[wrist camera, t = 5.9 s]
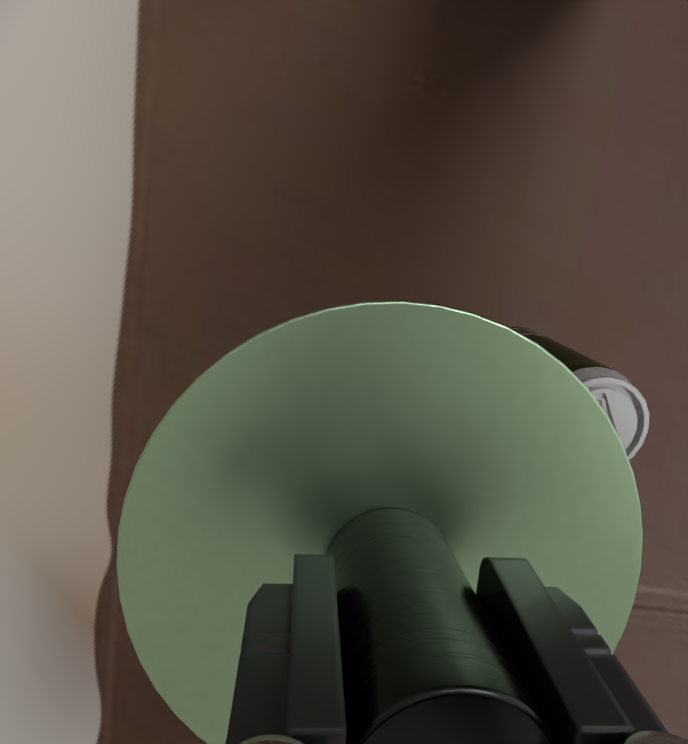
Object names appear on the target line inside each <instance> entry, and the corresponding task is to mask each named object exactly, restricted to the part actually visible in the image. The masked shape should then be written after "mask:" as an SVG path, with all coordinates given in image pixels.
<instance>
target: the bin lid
mask: <svg viewBox="0 0 688 744" xmlns="http://www.w3.org/2000/svg"><path fill="white" fill-rule="evenodd" d="M642 541H643V534H642V520H641V506H640V501H639V496H638V492H637V487H636V482H635V478H634V474H633V471H632V468H631V465H630V463H629V460H628V457H627V454H626V452H625V449H624V446H623V444H622V442H621V440H620V438H619V436H618V434H617V432H616V430H615V428H614V427H613V425H612V423H611V421H610V419H609V417H608V415H607V414H606V412H605V411H604V410H603V408H602V407H601V406H600V404H599V403H598V401H597V400H596V399H595V397H594V396H593V395H592V393H591V392H590V391H589V389H588V388H587V387H586V386H585V385H584V384H583V383H582V382H581V381H580V380H579V379H578V378H577V377H576V376H575V375H574V374H573V373H572V372H571V370H570V369H569V368H568V367H567V366H566V365H565V364H564V363H562V362H561V361H560V360H558V359H557V358H556V357H554V356H553V355H552V354H551V353H549V352H548V351H547V350H545V349H544V348H543V347H541V346H540V345H539V344H538V343H536V342H534V341H532V340H531V339H529V338H527V337H525V336H524V335H522V334H520V333H518V332H517V331H515V330H513V329H511V328H509V327H508V326H506V325H503V324H501V323H498V322H496V321H493V320H490V319H488V318H485V317H483V316H480V315H478V314H475V313H472V312H468V311H464V310H460V309H456V308H452V307H448V306H444V305H440V304H432V303H423V302H414V301H404V300H377V301H359V302H353V303H347V304H341V305H334V306H328V307H325V308H321V309H318V310H315V311H311V312H308V313H305V314H301V315H298V316H295V317H292V318H290V319H287V320H285V321H283V322H281V323H279V324H276V325H274V326H272V327H270V328H267V329H265V330H263V331H261V332H259V333H257V334H256V335H254V336H253V337H251V338H249V339H248V340H246V341H245V342H243V343H241V344H240V345H238V346H236V347H235V348H233V349H232V350H230V351H229V352H227V353H226V354H225V355H224V356H223V357H221V358H220V359H219V360H218V361H217V362H215V363H214V364H213V365H212V366H210V367H209V368H208V369H207V370H206V371H204V372H203V373H202V374H201V375H200V376H198V377H197V378H196V379H195V381H194V382H193V383H192V384H191V385H190V386H189V387H188V388H187V389H186V390H185V391H184V392H183V393H182V395H181V396H180V397H179V398H178V399H177V400H176V401H175V402H174V403H173V404H172V406H171V407H170V409H169V410H168V412H167V413H166V414H165V416H164V417H163V419H162V420H161V422H160V423H159V424H158V426H157V427H156V429H155V430H154V432H153V433H152V435H151V437H150V439H149V441H148V443H147V445H146V447H145V449H144V450H143V452H142V454H141V456H140V458H139V460H138V462H137V464H136V467H135V470H134V472H133V475H132V478H131V481H130V484H129V487H128V490H127V493H126V496H125V499H124V504H123V509H122V514H121V520H120V525H119V530H118V546H117V575H118V586H119V596H120V602H121V606H122V610H123V614H124V618H125V622H126V626H127V631H128V633H129V636H130V638H131V641H132V643H133V646H134V648H135V651H136V653H137V656H138V658H139V661H140V663H141V664H142V666H143V668H144V670H145V671H146V673H147V675H148V677H149V678H150V680H151V682H152V684H153V685H154V687H155V689H156V690H157V691H158V693H159V694H160V695H161V697H162V698H163V699H164V700H165V702H166V703H167V704H168V706H169V707H170V708H171V709H172V711H173V712H174V713H175V715H176V716H177V717H178V718H179V719H181V720H182V721H183V722H184V723H185V724H186V725H187V726H188V727H189V728H190V729H191V730H192V731H193V732H194V733H195V734H196V735H197V736H198V737H199V738H200V739H202V740H203V741H204V742H206V743H207V744H225V743H226V739H227V733H228V726H229V720H230V714H231V707H232V701H233V695H234V688H235V682H236V676H237V669H238V663H239V657H240V653H241V644H242V638H243V633H244V625H245V619H246V612H247V606H248V603H249V601H250V600H251V599H252V598H253V596H254V595H255V594H256V592H257V591H258V590H259V588H260V587H261V586H262V584H263V583H270V584H293V569H294V554H316V555H334V564H335V578H336V592H337V606H338V620H339V633H340V647H341V661H342V675H343V689H344V702H345V716H346V730H347V733H346V744H557V742H556V740H555V738H554V736H553V734H552V732H551V730H550V728H549V726H548V725H547V723H546V721H545V719H544V717H543V716H542V714H541V712H540V710H539V708H538V706H537V705H536V703H535V701H534V699H533V697H532V696H531V694H530V692H529V690H528V688H527V686H526V685H525V683H524V681H523V679H522V677H521V676H520V674H519V672H518V670H517V668H516V666H515V665H514V663H513V661H512V659H511V657H510V656H509V654H508V652H507V650H506V648H505V647H504V645H503V643H502V641H501V639H500V637H499V636H498V634H497V632H496V630H495V628H494V627H493V625H492V623H491V621H490V619H489V617H488V616H487V614H486V612H485V610H484V608H483V607H482V605H481V603H480V601H479V599H478V598H477V596H476V589H477V583H478V576H479V569H480V564H481V562H482V560H483V558H485V557H500V558H525V559H527V560H528V561H529V563H530V564H531V566H532V567H533V569H534V571H535V572H536V574H537V575H538V577H539V578H540V580H541V582H542V583H543V585H544V586H545V587H557V588H558V589H560V590H561V591H562V592H563V593H565V594H566V595H567V596H568V597H570V598H571V599H572V600H573V601H575V602H576V603H577V604H578V605H580V606H581V607H582V609H583V610H584V612H585V613H586V614H587V616H588V617H589V619H590V620H591V622H592V623H593V625H594V626H595V627H596V629H597V633H598V635H601V636H602V638H603V639H604V640H605V642H606V643H607V645H608V646H609V648H610V649H611V654H613V652H614V650H615V648H616V646H617V644H618V642H619V640H620V638H621V636H622V634H623V631H624V629H625V627H626V624H627V621H628V618H629V615H630V612H631V609H632V606H633V603H634V600H635V595H636V590H637V585H638V580H639V575H640V570H641V557H642Z"/></svg>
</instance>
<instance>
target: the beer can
mask: <svg viewBox="0 0 688 744" xmlns="http://www.w3.org/2000/svg"><path fill="white" fill-rule="evenodd" d="M509 328H511V329H513V330H515V331H517V332H518V333H520V334H522V335H524V336H525V337H527V338H529V339H531V340H532V341H534V342H536V343H538V344H539V345H540V346H541V347H543V348H544V349H545V350H547V351H548V352H549V353H551V354H552V355H553V356H554V357H556V358H557V359H558V360H560V361H561V362H562V363H564V364H565V365H566V366H567V367H568V368H569V369H570V370H571V372H572V373H573V374H574V375H575V376H576V377H577V378H578V379H579V380H580V381H581V382H582V383H583V384H584V385H585V386H586V387H587V388H588V389H589V391H590V392H591V393H592V395H593V396H594V397H595V399H596V400H597V401H598V403H599V404H600V406H601V407H602V408H603V410H604V411H605V412H606V414H607V415H608V417H609V419H610V421H611V423H612V425H613V427H614V428H615V430H616V432H617V434H618V436H619V438H620V440H621V442H622V444H623V446H624V449H625V452H626V454H627V457H628V460H630V459H631V458H633V456H634V455H635V454H636V452H637V451H638V450H639V448H640V447H641V446H642V444H643V442H644V439H645V437H646V434H647V432H648V426H649V412H648V408H647V405H646V401H645V399H644V398H643V397H642V395H641V394H640V393H639V391H638V390H637V389H636V388H635V387H634V386H633V385H632V384H631V382H630V381H629V380H628V379H627V378H626V377H624V376H623V375H621V374H620V373H618V372H616V371H615V370H613V369H611V368H609V367H607V366H605V365H603V364H601V363H599V362H596V361H594V360H592V359H590V358H588V357H586V356H584V355H582V354H580V353H578V352H576V351H574V350H572V349H570V348H568V347H566V346H564V345H562V344H560V343H558V342H555V341H553V340H551V339H549V338H547V337H545V336H543V335H541V334H539V333H537V332H535V331H533V330H531V329H527V328H523V327H509Z"/></svg>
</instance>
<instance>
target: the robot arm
mask: <svg viewBox="0 0 688 744" xmlns="http://www.w3.org/2000/svg"><path fill="white" fill-rule="evenodd" d="M476 596H477V598H478V599H479V601H480V603H481V605H482V607H483V608H484V610H485V612H486V614H487V616H488V617H489V619H490V621H491V623H492V625H493V627H494V628H495V630H496V632H497V634H498V636H499V637H500V639H501V641H502V643H503V645H504V647H505V648H506V650H507V652H508V654H509V656H510V657H511V659H512V661H513V663H514V665H515V666H516V668H517V670H518V672H519V674H520V676H521V677H522V679H523V681H524V683H525V685H526V686H527V688H528V690H529V692H530V694H531V696H532V697H533V699H534V701H535V703H536V705H537V706H538V708H539V710H540V712H541V714H542V716H543V717H544V719H545V721H546V723H547V725H548V726H549V728H550V730H551V732H552V734H553V736H554V738H555V740H556V742H557V744H688V740H685V739H683V738H681V737H679V736H676V735H672V734H669V733H668V732H667V730H666V729H665V727H664V726H663V724H662V723H661V721H660V720H659V719H658V717H657V716H656V714H655V713H654V711H653V710H652V708H651V707H650V706H649V704H648V703H647V701H646V700H645V698H644V697H643V695H642V694H641V693H640V691H639V690H638V688H637V687H636V685H635V684H634V682H633V681H632V680H631V678H630V677H629V675H628V674H627V672H626V671H625V669H624V668H623V667H622V665H621V664H620V662H619V661H618V659H617V658H616V656H615V655H612V654H611V649H610V648H609V646H608V645H607V643H606V642H605V640H604V639H603V638H602V636H601V635H598V633H597V629H596V627H595V626H594V625H593V623H592V622H591V620H590V619H589V617H588V616H587V614H586V613H585V612H584V610H583V609H582V607H581V606H580V605H578V604H577V603H576V602H575V601H573V600H572V599H571V598H570V597H568V596H567V595H566V594H565V593H563V592H562V591H561V590H560V589H558V588H557V587H545V586H544V585H543V583H542V582H541V580H540V578H539V577H538V575H537V574H536V572H535V571H534V569H533V567H532V566H531V564H530V563H529V561H528V560H527V559H525V558H500V557H485V558H483V560H482V562H481V564H480V569H479V576H478V583H477V589H476ZM346 733H347V730H346V716H345V702H344V689H343V675H342V661H341V647H340V633H339V620H338V606H337V592H336V578H335V564H334V555H316V554H294V569H293V584H270V583H263V584H262V586H261V587H260V588H259V590H258V591H257V592H256V594H255V595H254V596H253V598H252V599H251V600H250V601H249V603H248V606H247V612H246V619H245V625H244V633H243V638H242V644H241V653H240V657H239V663H238V669H237V676H236V682H235V688H234V695H233V701H232V707H231V714H230V720H229V726H228V733H227V739H226V743H225V744H346Z"/></svg>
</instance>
